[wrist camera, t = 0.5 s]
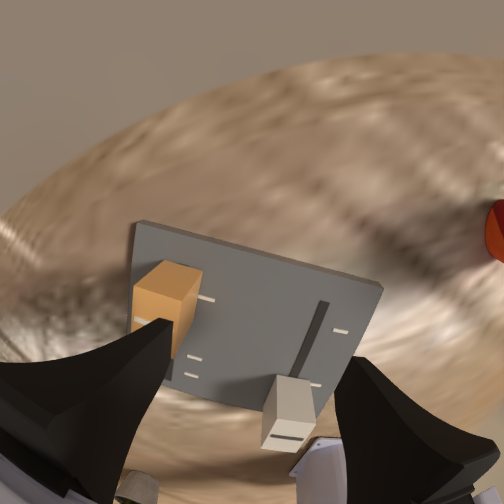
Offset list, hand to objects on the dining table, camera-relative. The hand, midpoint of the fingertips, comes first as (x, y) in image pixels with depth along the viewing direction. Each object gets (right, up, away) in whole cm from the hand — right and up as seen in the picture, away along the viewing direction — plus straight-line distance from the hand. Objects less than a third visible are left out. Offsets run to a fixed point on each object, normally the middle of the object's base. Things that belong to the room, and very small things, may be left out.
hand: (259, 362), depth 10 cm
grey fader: (+3, -8, +11) cm, 13 cm away
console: (-1, -2, +11) cm, 11 cm away
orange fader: (-5, +2, +9) cm, 11 cm away
